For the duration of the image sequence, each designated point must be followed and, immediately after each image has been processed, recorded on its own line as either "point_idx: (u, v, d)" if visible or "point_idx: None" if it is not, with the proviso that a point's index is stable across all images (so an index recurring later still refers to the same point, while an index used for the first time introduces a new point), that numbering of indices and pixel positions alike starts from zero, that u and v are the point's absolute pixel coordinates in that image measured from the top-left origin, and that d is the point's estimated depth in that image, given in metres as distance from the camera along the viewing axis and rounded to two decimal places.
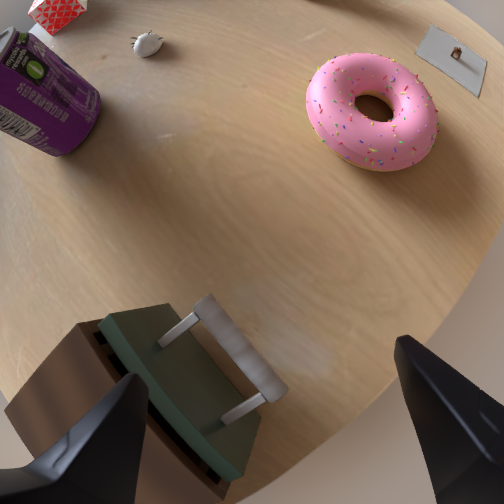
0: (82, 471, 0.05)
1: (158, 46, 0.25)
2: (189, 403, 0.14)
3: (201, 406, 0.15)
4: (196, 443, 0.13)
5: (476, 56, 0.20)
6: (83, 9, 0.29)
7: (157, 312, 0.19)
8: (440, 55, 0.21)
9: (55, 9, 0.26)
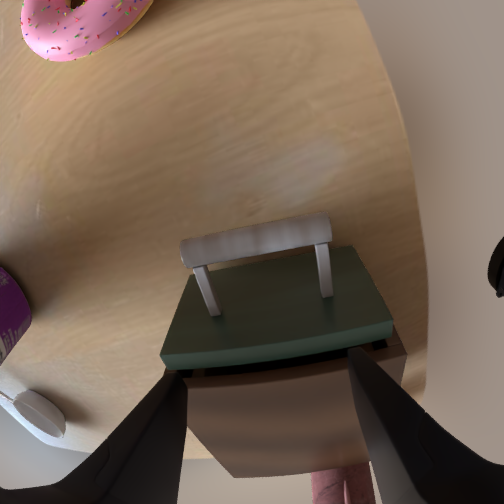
0: (125, 482, 0.05)
1: None
2: (285, 323, 0.14)
3: (297, 311, 0.14)
4: (330, 344, 0.13)
5: None
6: None
7: (189, 295, 0.18)
8: None
9: None
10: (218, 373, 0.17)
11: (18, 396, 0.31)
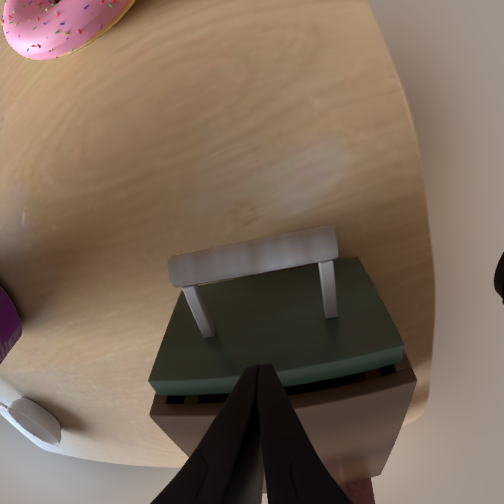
0: (228, 494, 0.05)
1: None
2: (285, 349, 0.12)
3: (298, 334, 0.13)
4: (334, 372, 0.11)
5: None
6: None
7: (181, 312, 0.16)
8: None
9: None
10: (213, 394, 0.16)
11: (13, 404, 0.30)
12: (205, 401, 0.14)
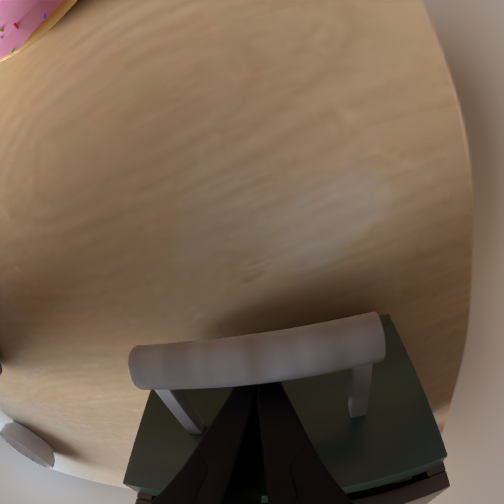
0: (228, 494, 0.05)
1: None
2: None
3: (313, 440, 0.08)
4: (357, 488, 0.07)
5: None
6: None
7: None
8: None
9: None
10: None
11: (3, 428, 0.25)
12: None
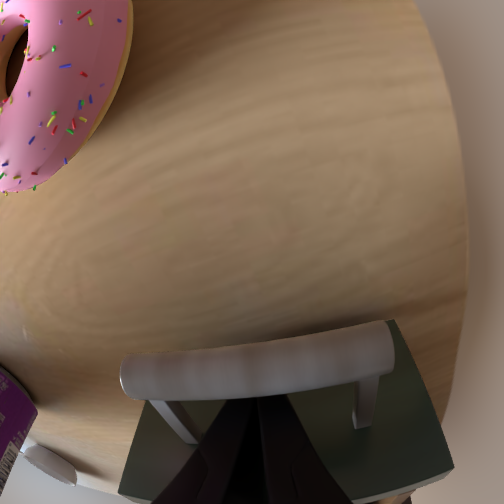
0: (228, 494, 0.05)
1: None
2: None
3: None
4: (360, 502, 0.06)
5: None
6: None
7: None
8: None
9: None
10: None
11: (28, 452, 0.28)
12: None
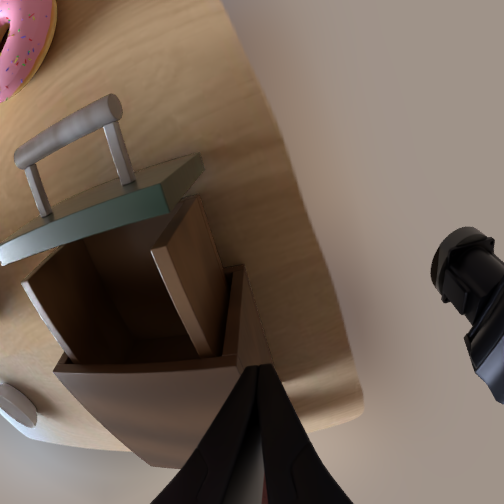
0: (228, 494, 0.05)
1: None
2: (75, 207, 0.12)
3: (93, 198, 0.12)
4: (100, 221, 0.11)
5: None
6: None
7: None
8: None
9: None
10: (61, 288, 0.15)
11: None
12: (44, 285, 0.14)
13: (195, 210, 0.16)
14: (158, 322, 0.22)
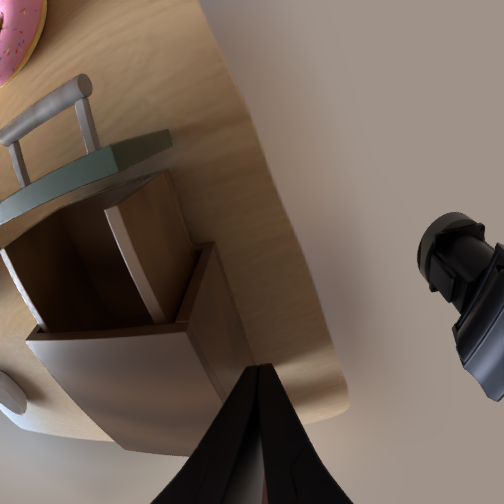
0: (228, 494, 0.05)
1: None
2: None
3: None
4: (61, 184, 0.11)
5: None
6: None
7: None
8: None
9: None
10: (36, 259, 0.15)
11: None
12: (20, 254, 0.14)
13: (159, 182, 0.16)
14: (131, 300, 0.22)
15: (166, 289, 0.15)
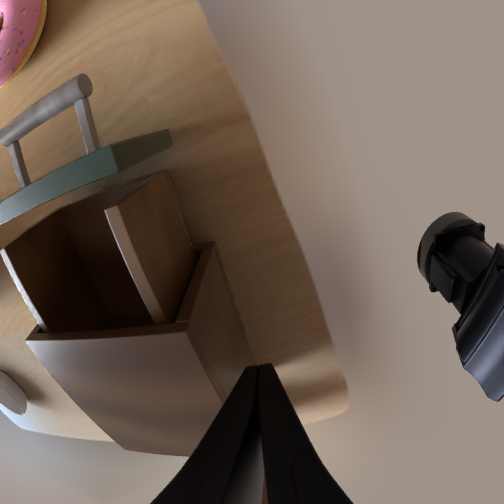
0: (228, 494, 0.05)
1: None
2: None
3: None
4: (61, 184, 0.11)
5: None
6: None
7: None
8: None
9: None
10: (36, 259, 0.15)
11: None
12: (20, 254, 0.14)
13: (159, 182, 0.16)
14: (131, 300, 0.22)
15: (166, 289, 0.15)
